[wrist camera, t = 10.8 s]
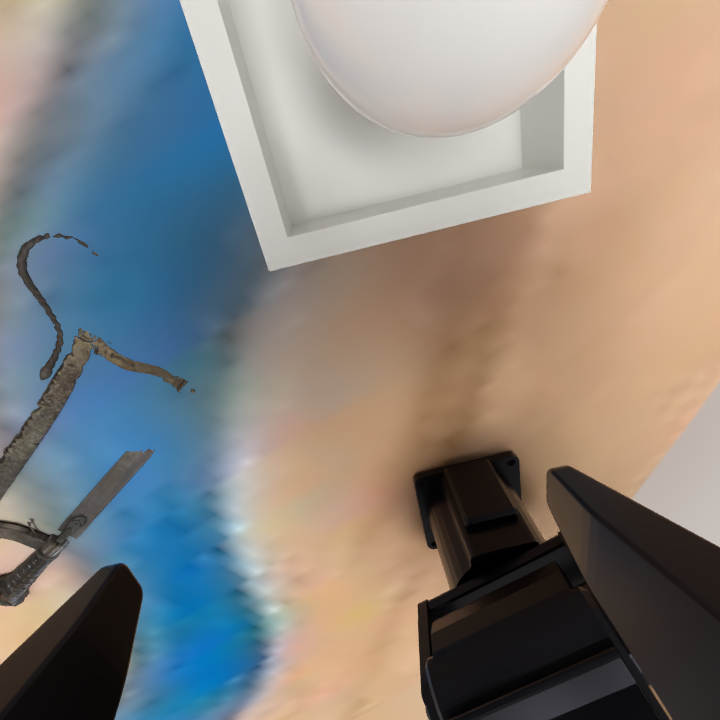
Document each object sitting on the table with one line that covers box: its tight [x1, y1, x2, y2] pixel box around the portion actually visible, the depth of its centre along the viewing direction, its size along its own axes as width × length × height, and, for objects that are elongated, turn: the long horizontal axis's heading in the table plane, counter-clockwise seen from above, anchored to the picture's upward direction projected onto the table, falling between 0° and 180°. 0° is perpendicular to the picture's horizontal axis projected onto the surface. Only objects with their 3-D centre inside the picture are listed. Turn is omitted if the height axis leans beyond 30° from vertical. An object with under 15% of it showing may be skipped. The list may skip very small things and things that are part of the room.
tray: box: [180, 0, 597, 271], centre depth 14 cm, size 12×12×4 cm
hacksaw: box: [0, 233, 195, 606], centre depth 21 cm, size 24×10×2 cm, turn 136°
